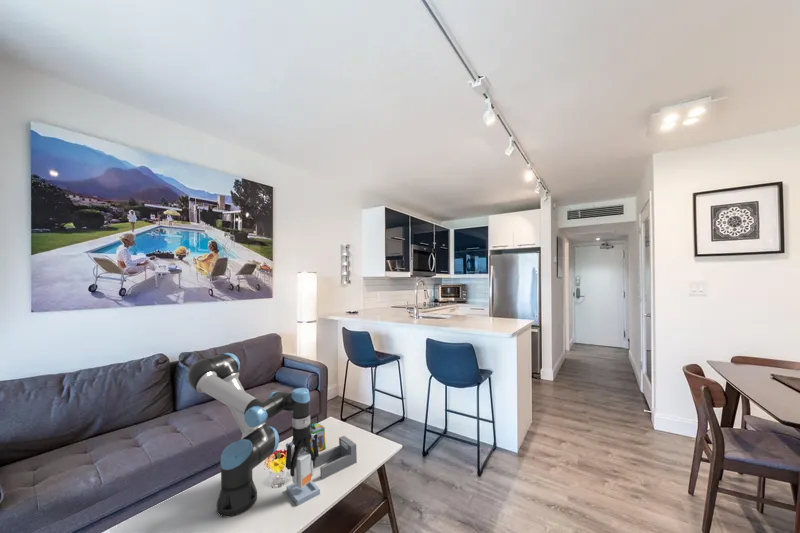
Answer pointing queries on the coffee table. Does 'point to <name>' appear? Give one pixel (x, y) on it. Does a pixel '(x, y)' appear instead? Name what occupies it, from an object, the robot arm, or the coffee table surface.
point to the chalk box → (320, 433)
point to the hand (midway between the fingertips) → (303, 478)
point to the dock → (344, 450)
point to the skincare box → (303, 469)
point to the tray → (303, 492)
